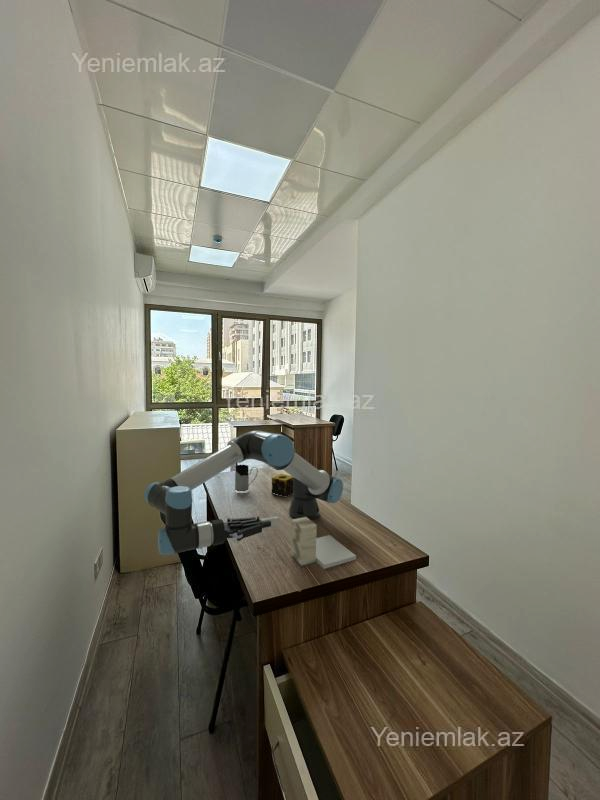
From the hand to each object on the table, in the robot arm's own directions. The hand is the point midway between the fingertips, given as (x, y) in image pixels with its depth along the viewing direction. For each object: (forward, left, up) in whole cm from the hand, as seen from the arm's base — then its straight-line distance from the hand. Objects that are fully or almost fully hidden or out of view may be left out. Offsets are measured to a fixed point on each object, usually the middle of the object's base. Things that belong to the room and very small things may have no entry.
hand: (277, 520), depth 116 cm
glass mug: (-81, +16, -17) cm, 84 cm away
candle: (-67, +34, -17) cm, 77 cm away
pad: (0, +21, -17) cm, 27 cm away
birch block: (0, +11, -17) cm, 20 cm away
